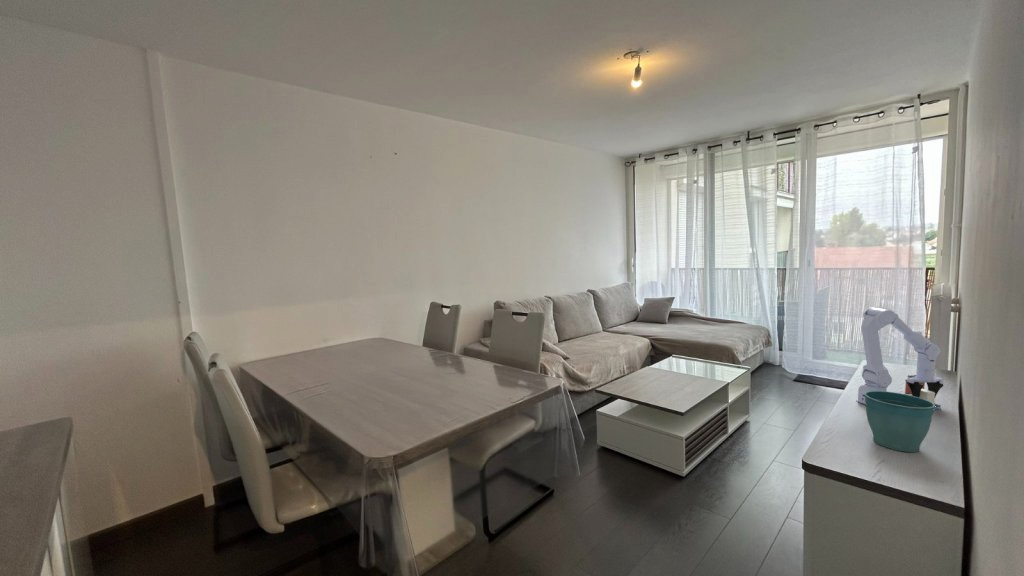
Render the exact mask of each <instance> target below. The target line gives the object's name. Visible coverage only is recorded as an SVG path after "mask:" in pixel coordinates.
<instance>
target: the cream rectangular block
mask: <svg viewBox="0 0 1024 576" xmlns="http://www.w3.org/2000/svg"><path fill="white" fill-rule="evenodd" d="M919 398H922V399H925V400H927V401H930V402H932V403H933V404H934V403H935V399H936V397H935V392H932V391H928V389H925V388H924V389H921V392H920V397H919Z"/></svg>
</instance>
